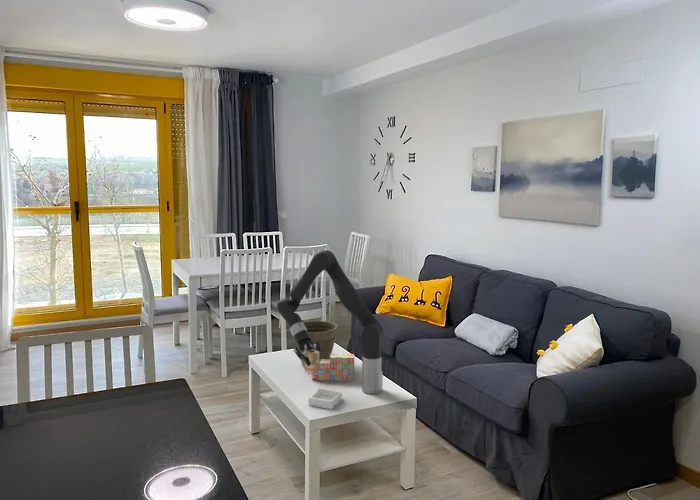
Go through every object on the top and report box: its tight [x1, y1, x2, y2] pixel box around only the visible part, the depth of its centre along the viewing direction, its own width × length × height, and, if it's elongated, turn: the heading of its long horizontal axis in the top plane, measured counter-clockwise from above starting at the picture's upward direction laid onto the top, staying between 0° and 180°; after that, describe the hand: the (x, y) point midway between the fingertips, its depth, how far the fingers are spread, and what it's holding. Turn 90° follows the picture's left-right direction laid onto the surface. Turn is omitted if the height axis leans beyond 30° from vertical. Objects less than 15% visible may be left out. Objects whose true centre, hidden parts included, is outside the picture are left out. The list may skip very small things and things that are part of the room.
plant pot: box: [295, 320, 339, 368], centre depth 302 cm, size 25×25×22 cm
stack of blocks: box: [311, 353, 355, 382], centre depth 283 cm, size 21×6×12 cm, turn 90°
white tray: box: [307, 388, 343, 410], centre depth 254 cm, size 12×12×4 cm
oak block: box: [304, 350, 320, 375], centre depth 264 cm, size 5×5×10 cm
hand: (314, 363), depth 263 cm, fingers closed on oak block, 5 cm apart
